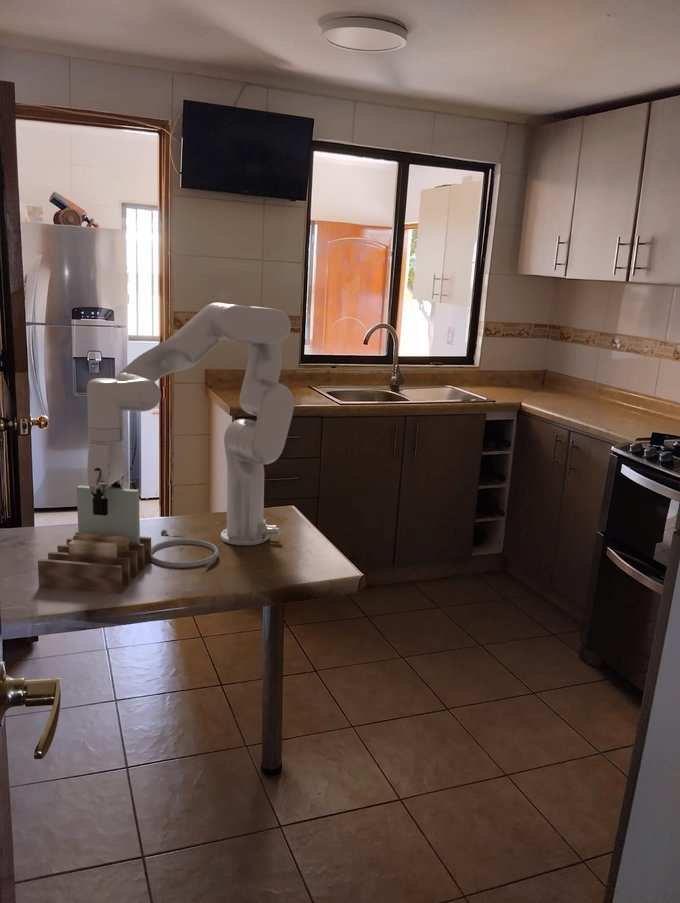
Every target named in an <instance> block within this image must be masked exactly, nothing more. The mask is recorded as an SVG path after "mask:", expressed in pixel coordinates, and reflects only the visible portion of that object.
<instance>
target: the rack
mask: <svg viewBox="0 0 680 903" xmlns="http://www.w3.org/2000/svg"><path fill="white" fill-rule="evenodd" d="M77 533H78V531H75V533H74V535H75V534H77ZM72 540H73V537H67V538H66V544H61V543H59V544H58V545H56V547H57V551H48V552H47V558H39V559H38V560H37V571H38V572H37V573H38V575H37V576H38V588H44V589H45V588H46V589H56V590H69V591H77V592H78V591H80V592H90V593H101V594H113V595H122V594H123V593H124V592H125V590H126V589H127V588H128V587H129V586H130V585H131V584H132V583H133V582H134V581H135V580H136V579H137V578H138V576H140V575H141V573H142V572H143V571H144V570H145V569H146V568H147V567H148V566H149V565H150V564H151V563H153V562H152V561H151V547H152V537H149V536H140V544H138V543H129V550H121V549H117V557H111V556H99V555H87V554H75V553H69V544H68V543H70V542H71V541H72Z"/></svg>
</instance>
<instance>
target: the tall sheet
mask: <svg viewBox="0 0 680 903" xmlns="http://www.w3.org/2000/svg"><path fill="white" fill-rule="evenodd" d="M109 487H110V486H109ZM109 487H108V488H107V493H106V498H107V499H108V514H107V515H106V516H103V515H94V514H93V498H92V494H91V490H90V487H89V485H82V484H81V485H78V486H76V500H77V501H76V503H77V506H76V507H77V530H78V531H77V532H78V533H85V534H97V535H110V536H122V537H129V543H138V544H140V537H141V536H140V535H141V530H140V529H141V528H140V527H141V526H140V524H141V523H140V522H141V521H140V489H137V488H136V489H131V488H123V487H122V488H109ZM98 489H100V490H101V492H102V490H103V488H98Z"/></svg>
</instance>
